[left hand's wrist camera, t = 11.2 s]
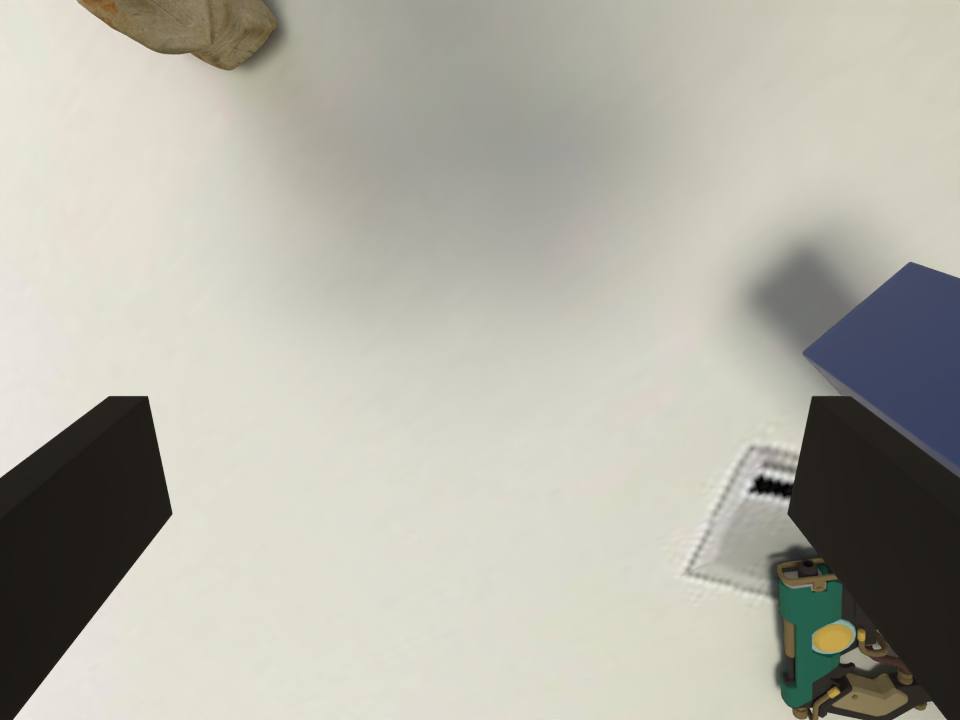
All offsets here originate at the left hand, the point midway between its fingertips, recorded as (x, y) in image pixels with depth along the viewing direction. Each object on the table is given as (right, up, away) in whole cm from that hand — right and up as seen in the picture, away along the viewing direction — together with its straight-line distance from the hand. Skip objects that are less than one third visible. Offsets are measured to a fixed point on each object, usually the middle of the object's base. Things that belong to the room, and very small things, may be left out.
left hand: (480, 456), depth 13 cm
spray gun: (+29, -19, +37) cm, 51 cm away
